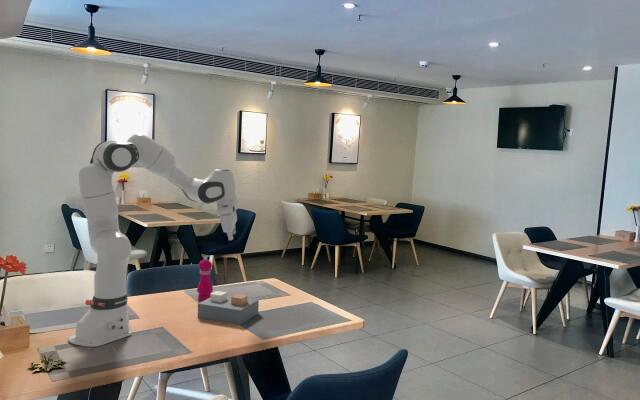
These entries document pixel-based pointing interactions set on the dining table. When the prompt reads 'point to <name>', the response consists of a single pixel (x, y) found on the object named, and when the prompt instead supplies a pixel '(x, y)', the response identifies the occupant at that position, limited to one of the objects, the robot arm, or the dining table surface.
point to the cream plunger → (218, 296)
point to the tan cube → (239, 299)
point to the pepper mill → (205, 280)
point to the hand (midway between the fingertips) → (232, 236)
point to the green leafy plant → (47, 362)
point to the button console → (228, 310)
